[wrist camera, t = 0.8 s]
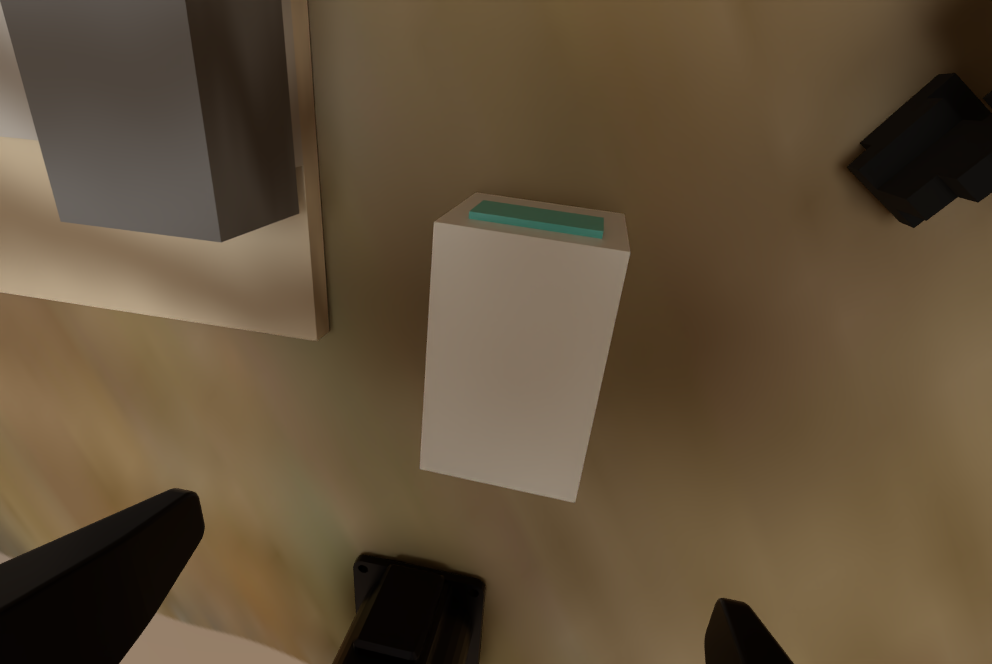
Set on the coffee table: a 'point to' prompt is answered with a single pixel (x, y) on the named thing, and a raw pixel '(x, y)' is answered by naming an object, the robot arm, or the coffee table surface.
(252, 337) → the coffee table surface
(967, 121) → the security camera
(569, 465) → the module block
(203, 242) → the rail panel
